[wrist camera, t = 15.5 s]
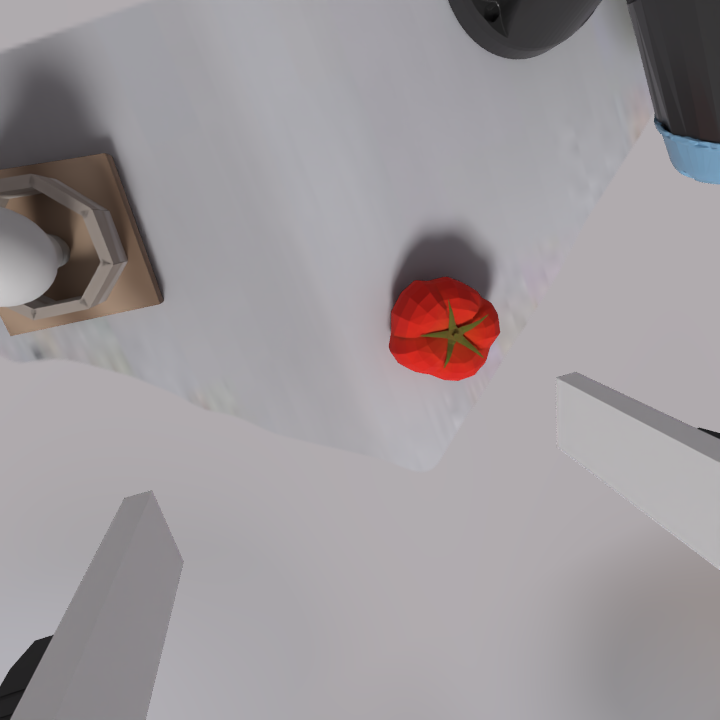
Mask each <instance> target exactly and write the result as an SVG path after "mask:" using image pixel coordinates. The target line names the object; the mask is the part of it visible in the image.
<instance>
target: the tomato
mask: <svg viewBox="0 0 720 720" xmlns="http://www.w3.org/2000/svg"><path fill="white" fill-rule="evenodd" d="M499 333H500V328H499V319H498V314H497V312H496V310H495V308H494V307H493V305H492V303H490V302H489V301H487V300H485V299H483V298H482V297H481V296H480V294H479V293H478V292H477V291H476V290H474V289H473V288H471V287H469V286H468V285H466V284H464V283H462V282H460V281H457V280H455V279H452V278H449V277H441V278H437V279H433V280H429V281H420V280H415V281H413V282H412V283H411V284H410V285H409V286H408V287H407V288H406V289H405V290H403V291H402V292H401V294H400V296H399V297H398V299H397V301H396V303H395V305H394V307H393V309H392V311H391V336H390V343H389V349H390V352H391V353H392V354H393V356H394V357H395V359H396V360H397V362H398V363H400V364H401V365H403V366H405V367H407V368H409V369H411V370H413V371H415V372H419V373H425V374H430V375H433V376H435V377H438V378H441V379H443V380H454V381H459V380H462V379H465V378H467V377H470V376H473V375H475V374H476V372H477V371H478V370H479V369H480V368H481V367H482V366H483V365H484V363H485V361H486V359H487V356H488V352H489V349H490V346H491V345H492V343H493V342H494V341H495V339H496V338H497V336H498V335H499Z"/></svg>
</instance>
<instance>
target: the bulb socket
mask: <svg viewBox="0 0 720 720" xmlns="http://www.w3.org/2000/svg"><path fill="white" fill-rule="evenodd" d="M0 207H3V208H7V209H10V210H12V211H14V212H16V213H18V214H21V215H23V216H25V217H27V218H28V219H30V220H31V221H33V222H34V223H35V224H37V225H38V226H39V227H40V228H41V229H42V230H43V231H44V232H45V233H46V234H51V235H56V236H58V237H60V238H61V239H63V240H64V241H65V242H66V243H67V245H68V247H69V249H70V258H69V261H68V262H67V263H66V264H65V265H63V266H61V267H59V268H58V269H57V274H56V277H55V280H54V282H53V283H52V285H51V286H50V287H49V289H48V290H47V291H46V292H45V293H43V294H42V295H41V296H40V297H38V298H37V299H35V300H33V301H31V302H28V303H25V304H21V305H18V306H10V307H0V316H1V318H2V320H3V322H4V324H5V326H6V328H7V330H8V332H9V334H10V336H13V335H18V334H23V333H27V332H32V331H37V330H41V329H46V328H51V327H55V326H60V325H65V324H69V323H74V322H78V321H83V320H88V319H92V318H97V317H102V316H106V315H111V314H116V313H120V312H125V311H130V310H134V309H139V308H144V307H148V306H153V305H158V304H161V303H162V302H163V301H164V300H163V297H162V294H161V292H160V289H159V286H158V283H157V281H156V278H155V275H154V272H153V269H152V267H151V264H150V261H149V258H148V255H147V253H146V250H145V247H144V244H143V241H142V239H141V236H140V233H139V230H138V228H137V225H136V222H135V219H134V216H133V214H132V211H131V208H130V205H129V202H128V200H127V197H126V194H125V191H124V188H123V186H122V183H121V180H120V177H119V174H118V172H117V169H116V166H115V163H114V161H113V158H112V156H110V155H108V154H106V153H103V154H96V155H90V156H84V157H77V158H71V159H65V160H59V161H52V162H46V163H40V164H33V165H27V166H21V167H14V168H8V169H2V170H0Z"/></svg>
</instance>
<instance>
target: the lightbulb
mask: <svg viewBox="0 0 720 720" xmlns="http://www.w3.org/2000/svg"><path fill="white" fill-rule="evenodd" d="M69 258H70V249H69V247H68V245H67V243H66V242H65V241H64V240H63V239H61V238H60V237H58V236H56V235H51V234H46V233H45V232H44V231H43V230H42V229H41V228H40V227H39V226H38V225H37V224H35V223H34V222H33V221H31V220H30V219H28V218H27V217H25V216H23V215H21V214H18V213H16V212H14V211H12V210H10V209H7V208H3V207H0V307H10V306H18V305H21V304H25V303H28V302H31V301H33V300H35V299H37V298H38V297H40V296H41V295H42V294H43V293H45V292H46V291H47V290H48V289H49V287H50V286H51V285H52V283H53V282H54V280H55V277H56V274H57V269H58V268H59V267H61V266H63V265H65V264H66V263H67V262H68V261H69Z"/></svg>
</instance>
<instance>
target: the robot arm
mask: <svg viewBox="0 0 720 720" xmlns="http://www.w3.org/2000/svg"><path fill="white" fill-rule="evenodd" d="M448 1H449V3H450V6H451V8H452V10H453V12H454V14H455V16H456V18H457V20H458V21H459V23H460V25H461V26H462V27H463V29H464V30H465V31H466V33H467V34H468V35H469V36H470V37H471V38H472V39H473V40H474V41H475V42H476V43H477V44H478V45H480V46H481V47H482V48H484V49H485V50H487V51H489V52H491V53H493V54H495V55H497V56H500V57H504V58H509V59H526V58H531V57H535V56H538V55H540V54H543V53H545V52H547V51H548V50H550V49H552V48H553V47H555V46H556V45H558V44H560V43H561V42H563V41H564V40H566V39H567V38H569V37H570V36H572V35H573V34H574V33H575V32H576V31H577V30H578V29H579V28H580V27H581V26H582V25H584V23H585V22H586V21H587V20H588V19H589V18H590V16H591V15H592V14H593V12H594V11H595V9H596V8H597V6H598V5H599V4H600V2H601V1H602V0H448ZM627 6H628V10H629V13H630V17H631V21H632V25H633V28H634V32H635V36H636V39H637V43H638V47H639V51H640V55H641V59H642V63H643V67H644V71H645V75H646V79H647V83H648V87H649V91H650V95H651V99H652V103H653V107H654V112H655V118H654V123H655V126H656V129H657V130H658V131H659V132H660V134H662V136H663V139H664V142H665V145H666V148H667V151H668V154H669V157H670V160H671V162H672V164H673V166H674V167H675V168H676V170H678V171H679V172H680V173H681V174H683V175H685V176H688V177H690V178H694V179H695V180H697V181H699V182H704V183H710V184H720V0H627ZM556 423H557V424H556V425H557V447H558V448H559V449H560V450H562V451H563V452H564V453H566V454H567V455H568V456H569V457H571V458H572V459H574V460H575V461H576V462H577V463H579V464H580V465H581V466H583V467H584V468H585V469H587V470H588V471H589V472H591V473H592V474H593V475H595V476H596V477H597V478H599V479H600V480H601V481H603V482H604V483H605V484H607V485H608V486H609V487H610V488H612V489H613V490H615V491H616V492H617V493H618V494H620V495H621V496H622V497H624V498H625V499H626V500H628V501H629V502H631V503H632V504H633V505H634V506H636V507H637V508H638V509H640V510H641V511H642V512H644V513H645V514H646V515H648V516H649V517H650V518H651V519H653V520H654V521H655V522H657V523H658V524H659V525H661V526H662V527H663V528H665V529H666V530H667V531H669V532H670V533H671V534H673V535H674V536H675V537H677V538H678V539H679V540H680V541H682V542H683V543H684V544H686V545H687V546H689V547H690V548H691V549H692V550H694V551H695V552H696V553H698V554H699V555H700V556H702V557H703V558H704V559H706V560H707V561H708V562H710V563H711V564H712V565H714V566H715V567H716V568H717V569H719V570H720V433H717V432H713V431H710V430H706V429H702V428H695V427H692V426H690V425H688V424H686V423H684V422H682V421H680V420H677V419H675V418H673V417H671V416H669V415H667V414H664V413H662V412H660V411H658V410H656V409H654V408H652V407H650V406H647V405H645V404H643V403H641V402H639V401H637V400H635V399H633V398H630V397H628V396H626V395H624V394H622V393H620V392H618V391H616V390H613V389H611V388H609V387H607V386H605V385H603V384H601V383H598V382H596V381H594V380H592V379H590V378H588V377H586V376H584V375H582V374H579V373H577V372H574V373H571V374H567V375H563V376H560V377H556ZM183 562H184V561H183V559H182V557H181V554H180V552H179V550H178V548H177V545H176V543H175V541H174V539H173V536H172V534H171V532H170V530H169V527H168V525H167V523H166V521H165V518H164V516H163V514H162V512H161V509H160V507H159V505H158V502H157V500H156V498H155V496H154V494H153V491H148V492H144V493H141V494H137V495H133V496H130V497H127V498H124V500H123V502H122V504H121V506H120V507H119V510H118V512H117V513H116V515H115V517H114V519H113V521H112V523H111V525H110V527H109V529H108V531H107V533H106V535H105V537H104V539H103V541H102V542H101V544H100V546H99V548H98V550H97V552H96V554H95V556H94V558H93V560H92V562H91V564H90V566H89V568H88V570H87V572H86V574H85V576H84V577H83V579H82V581H81V583H80V585H79V587H78V589H77V591H76V593H75V595H74V597H73V599H72V601H71V603H70V604H69V607H68V608H67V610H66V612H65V614H64V616H63V618H62V620H61V622H60V624H59V626H58V628H57V630H56V632H55V634H54V635H52V636H49V637H45V638H43V639H39V640H36V641H34V643H33V644H32V645H31V646H30V647H29V648H28V649H27V651H26V652H25V653H24V654H23V655H22V656H21V657H20V658H19V660H18V661H17V662H16V663H15V664H14V665H13V666H12V668H11V669H10V670H9V672H8V674H7V675H6V677H5V679H4V681H3V682H2V684H1V686H0V720H146V716H147V712H148V707H149V703H150V699H151V695H152V691H153V687H154V683H155V678H156V674H157V670H158V666H159V661H160V658H161V654H162V649H163V645H164V641H165V637H166V633H167V629H168V625H169V620H170V616H171V612H172V608H173V604H174V600H175V595H176V591H177V587H178V583H179V579H180V575H181V571H182V567H183Z"/></svg>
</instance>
